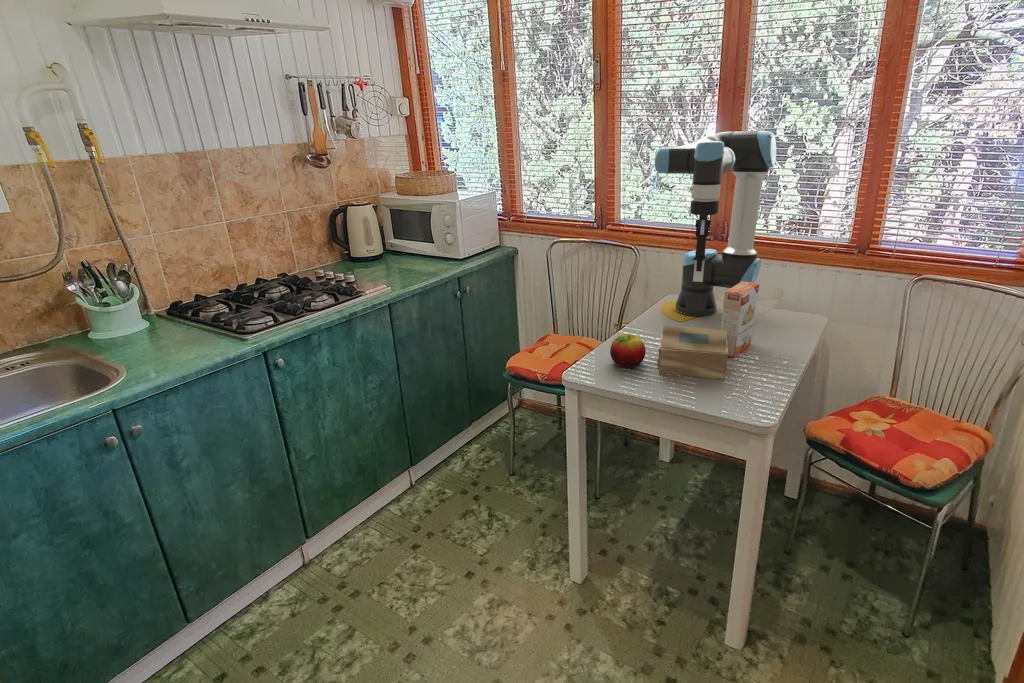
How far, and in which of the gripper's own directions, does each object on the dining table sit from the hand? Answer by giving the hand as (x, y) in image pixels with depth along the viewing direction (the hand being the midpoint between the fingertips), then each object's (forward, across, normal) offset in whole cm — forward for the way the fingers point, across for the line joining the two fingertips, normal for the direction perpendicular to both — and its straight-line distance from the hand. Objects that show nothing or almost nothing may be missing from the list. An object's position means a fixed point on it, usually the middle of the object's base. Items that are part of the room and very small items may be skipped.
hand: (697, 280), depth 168 cm
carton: (+25, +6, 0) cm, 26 cm away
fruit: (+26, +8, -19) cm, 33 cm away
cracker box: (+25, -11, +13) cm, 31 cm away
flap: (+14, +11, 0) cm, 18 cm away
